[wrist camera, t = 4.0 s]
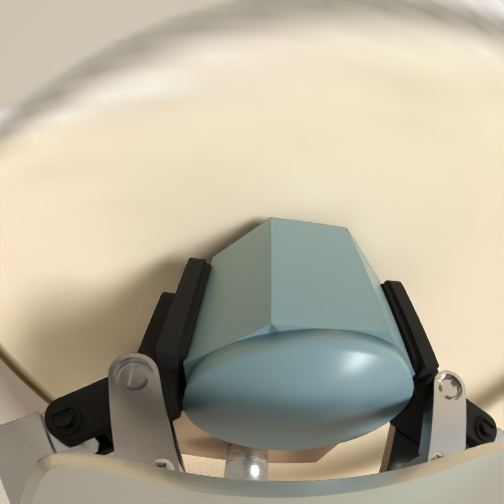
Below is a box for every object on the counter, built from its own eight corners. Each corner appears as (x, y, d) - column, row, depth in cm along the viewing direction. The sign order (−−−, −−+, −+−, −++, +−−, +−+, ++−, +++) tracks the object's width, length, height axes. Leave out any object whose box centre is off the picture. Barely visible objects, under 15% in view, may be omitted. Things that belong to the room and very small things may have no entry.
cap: (392, 235, 9) (458, 350, 5) (342, 347, 12) (358, 447, 8) (214, 210, 9) (169, 335, 5) (210, 336, 12) (190, 441, 8)
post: (271, 434, 16) (270, 481, 13) (265, 445, 17) (264, 487, 15) (228, 431, 16) (224, 478, 13) (227, 443, 17) (223, 484, 14)
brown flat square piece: (381, 374, 14) (386, 396, 13) (315, 448, 22) (315, 462, 21) (134, 353, 14) (126, 375, 13) (166, 436, 22) (164, 449, 20)
